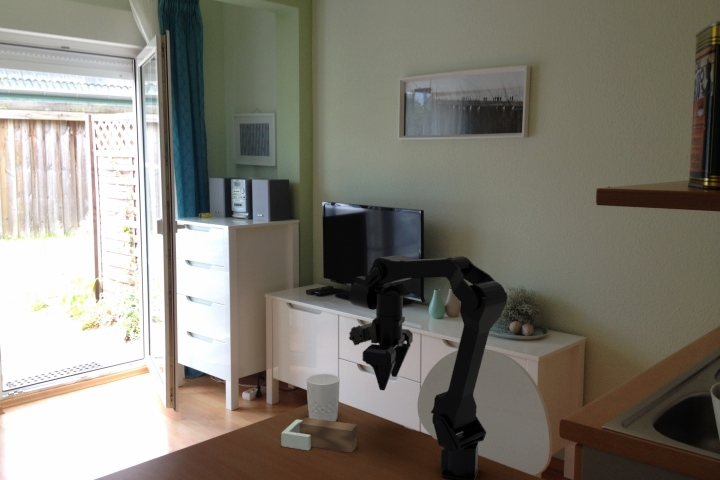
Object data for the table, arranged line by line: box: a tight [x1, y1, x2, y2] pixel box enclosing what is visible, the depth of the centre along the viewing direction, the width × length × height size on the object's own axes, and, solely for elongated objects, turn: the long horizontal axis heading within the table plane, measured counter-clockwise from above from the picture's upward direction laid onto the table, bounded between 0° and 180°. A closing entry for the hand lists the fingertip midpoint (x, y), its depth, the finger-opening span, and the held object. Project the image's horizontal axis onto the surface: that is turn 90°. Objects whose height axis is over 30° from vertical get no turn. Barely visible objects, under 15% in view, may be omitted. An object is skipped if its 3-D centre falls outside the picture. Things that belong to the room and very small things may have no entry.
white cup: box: [306, 373, 341, 422], centre depth 155 cm, size 8×8×10 cm
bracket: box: [280, 419, 312, 451], centre depth 143 cm, size 6×8×3 cm
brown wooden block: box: [300, 417, 358, 453], centre depth 141 cm, size 12×4×5 cm, turn 71°
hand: (388, 383), depth 142 cm, fingers open, 9 cm apart
